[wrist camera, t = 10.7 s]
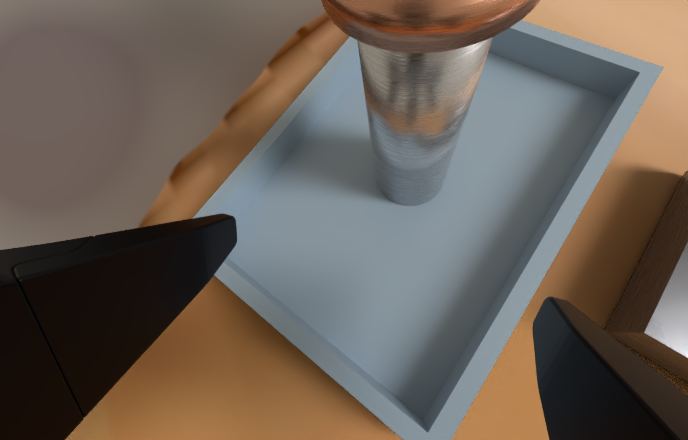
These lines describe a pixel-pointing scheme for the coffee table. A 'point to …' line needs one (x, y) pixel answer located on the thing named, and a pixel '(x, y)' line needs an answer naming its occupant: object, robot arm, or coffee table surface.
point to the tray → (424, 222)
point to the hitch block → (660, 293)
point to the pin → (420, 80)
